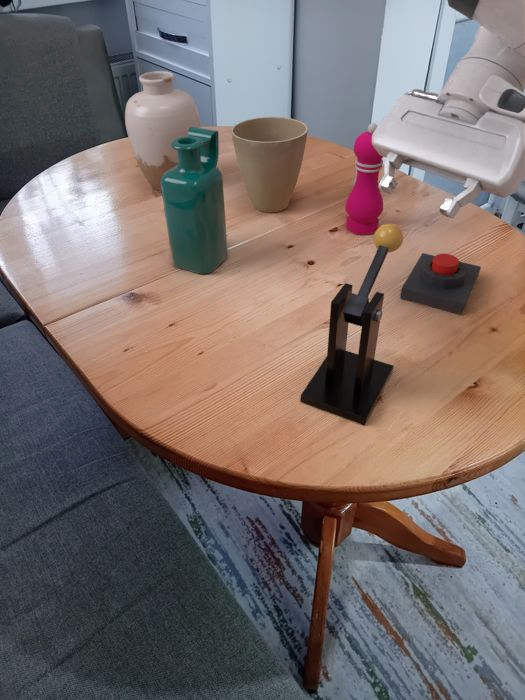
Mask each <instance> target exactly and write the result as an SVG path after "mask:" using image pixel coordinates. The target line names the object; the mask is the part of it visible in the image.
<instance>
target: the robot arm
mask: <svg viewBox="0 0 525 700" xmlns="http://www.w3.org/2000/svg"><path fill="white" fill-rule="evenodd" d="M447 5H448V7H449V8H451V9H452V10H454V11H456V12H458V13H460V14H461V15H463V16H464V17H466V18H467V19H469V20H471V21H472V20H473V21H475V22H476V23H477V24H479V27H478V29H477V31H476V33H475V36H474V39H473V42H472V45H471V47H470V49H469V50H468V51H467V52H466V53H465V54H464V55H463V56H462V57H461V58H460V59H459V61H457V64H456V66H455V67H454V69H453V70H452V72H451V73H450V74H449V77H448V78H447V80H446V82H445V84H444V85H443V87H442V89H440V92H439V93H435V92H427V91H424V90H423V89H419V88H418V89H417V88H414V89H412V90H411V91H407V92H405V93H402V94H401V95H400V96H399V97H397V100H396V102H394V104H393V105H392V107H391V108H390V109H389V110H388V112H387V113H385V116H384V117H383V118H382V119H381V121H380V122H379V124H378V125H377V126H378V127H377V128H376V129H375V131H374V133H373V135H372V145H373V147H374V148H375V150H376V151H377V152H378V153H379V155H381V156H383V158H384V162H383V164H384V165H383V174H384V175H383V176H382V178H381V179H380V180H379V182H378V188H379V189H380V192H382V193H385V194H388V195H392V194H393V193H394V191H395V189H396V188H397V187H398V186H399V183H398V182H397V180H396V179H395V173H396V172H395V171H396V170H397V171H399V170H400V169H401V167H402V166H403V164H404V165H407V166H409V167H413V168H415V169H418V170H421V171H425V172H427V173H428V174H429V173H430V174H432V175H436V176H438V177H441V178H444V179H447V180H450V181H453V182H456V183H459V184H461V185H463V188H464V190H463V191H461V192H460V193H458V194H457V195H456V196H454V197H453V198H451V197H448V196H446V198H445V199H444V200H443V203H442V204H441V206H440V207H439V212H440V214H441V215H442V216H444V217H447V218H449V219H452V220H453V219H455V218H456V216H457V215H458V213H459V211H460V209H461V208H463V207H465V206H467V205H468V204H470V203H471V202H473V201H475V200H476V199H478V198H479V196H480V194H481V193H482V192H485V193H488V194H491V195H493V196H496V197H500V198H503V199H505V198H508V197H510V196H512V195H514V194H515V193H516V192H517V191H518V190H519V188H520V187H521V186H522V184H523V183H524V180H525V0H447Z"/></svg>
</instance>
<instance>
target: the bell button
mask: <svg viewBox="0 0 525 700" xmlns="http://www.w3.org/2000/svg"><path fill="white" fill-rule="evenodd" d="M434 256H435V257H434V258H433V263H432V270H433V271H434V272H436V273H438V274H442V275H453V274H455V273H456V272H457V269H458V265H459V261H460V259H459V258H458V257H457V256H455V255H453V254H449V253H439V254H438V253H437V254H435V255H434Z"/></svg>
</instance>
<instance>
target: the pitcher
mask: <svg viewBox="0 0 525 700" xmlns="http://www.w3.org/2000/svg"><path fill="white" fill-rule="evenodd" d="M219 141H220V140H219V131H218V130H215V129H209V128H203V127H202V128H201V127H200V128H196V127H190V128H189V130H188V136H184V137H179V138H176V139H174V140H173V141H172V142H171V144H170V145H171V147H172V148H173V149H175V150H177V156H178V165H176V166H175V167H173V168H172V169H170V170H168V171H167V172H165V173H164V174H163V176H162V178H161V190H162V191H161V196H162V203H163V210H164V216H165V224H166V229H167V235H168V242H169V248H170V256H171V262H172V265H173V266H174V267H176V268H178V269H181V270H185V271H189V272H193V273H197V274H201V275H207V274H209V273H212V272H214V271H215V270H216V269H217V268H218V267H219V266H221V264H222V263H223V262H224V261H225V260H226V259H227V258H228V255H229V250H228V239H227V223H226V222H227V221H226V209H225V208H226V207H225V195H224V183H223V182H224V180H223V173H222V172H221V169H220V168H218V167H217V166H218V162H219V153H220V150H219V146H220V144H219Z"/></svg>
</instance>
